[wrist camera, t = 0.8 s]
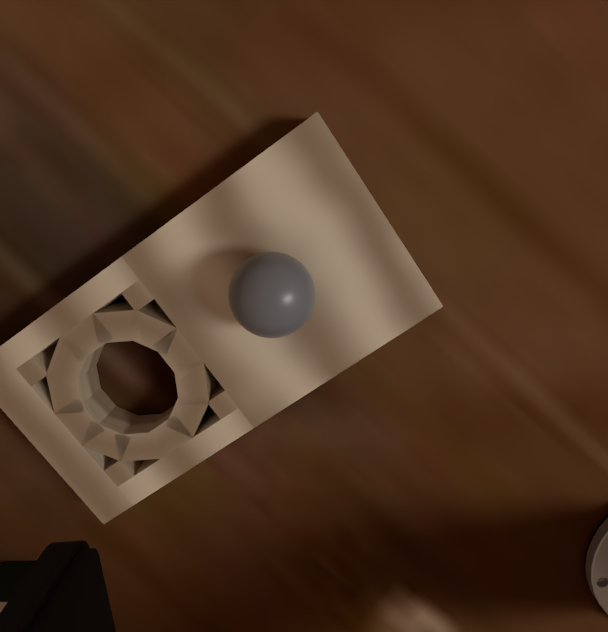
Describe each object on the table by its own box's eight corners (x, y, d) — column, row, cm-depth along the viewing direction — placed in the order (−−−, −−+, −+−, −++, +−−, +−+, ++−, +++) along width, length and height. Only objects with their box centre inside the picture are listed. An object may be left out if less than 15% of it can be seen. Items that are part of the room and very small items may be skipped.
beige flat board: (317, 119, 32) (317, 111, 29) (432, 297, 35) (443, 306, 32) (-5, 356, 36) (-33, 370, 33) (119, 499, 39) (103, 524, 36)
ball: (303, 238, 31) (302, 246, 26) (323, 315, 32) (325, 336, 27) (225, 258, 31) (209, 270, 26) (248, 334, 32) (236, 358, 27)
